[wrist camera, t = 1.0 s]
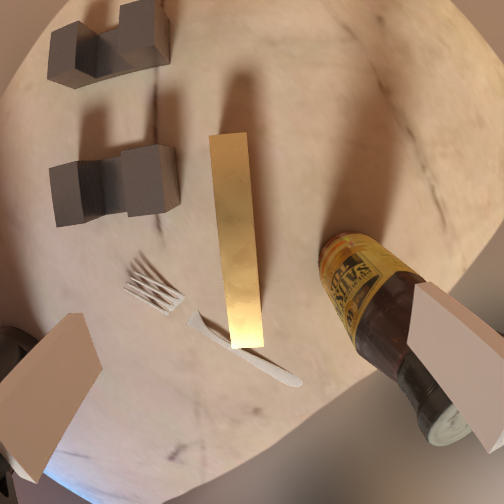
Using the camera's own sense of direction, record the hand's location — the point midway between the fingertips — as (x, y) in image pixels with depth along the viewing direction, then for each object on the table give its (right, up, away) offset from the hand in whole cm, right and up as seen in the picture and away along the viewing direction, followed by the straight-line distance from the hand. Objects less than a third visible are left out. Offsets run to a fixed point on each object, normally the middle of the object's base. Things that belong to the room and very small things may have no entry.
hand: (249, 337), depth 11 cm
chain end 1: (-12, +22, +11) cm, 27 cm away
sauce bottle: (+9, +2, +17) cm, 19 cm away
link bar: (-1, +5, +16) cm, 17 cm away
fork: (-2, -6, +20) cm, 21 cm away
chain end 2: (-11, +9, +15) cm, 21 cm away
